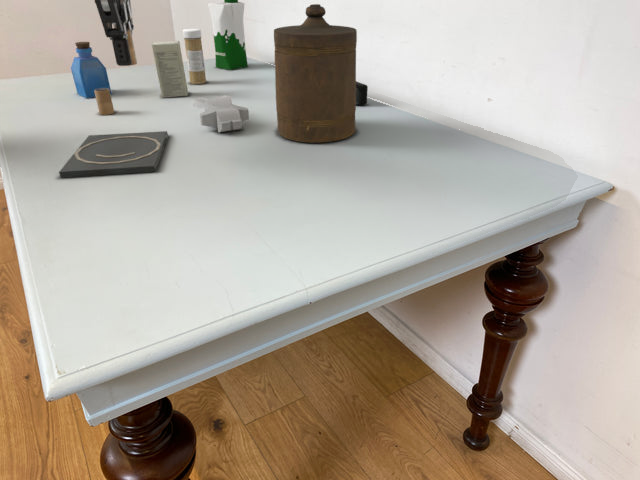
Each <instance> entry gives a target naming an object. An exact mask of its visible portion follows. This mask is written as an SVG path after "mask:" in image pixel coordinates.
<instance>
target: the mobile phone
mask: <svg viewBox="0 0 640 480" xmlns="http://www.w3.org/2000/svg"><path fill="white" fill-rule="evenodd" d="M368 87H369V85H367V84H364V83H362V82H359V81H357V80H356V106H366V105H367V103H368Z"/></svg>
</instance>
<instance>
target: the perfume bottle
mask: <svg viewBox="0 0 640 480" xmlns="http://www.w3.org/2000/svg"><path fill="white" fill-rule="evenodd" d="M74 44H75V46H76V48H75V52H76V54H78V56H75V57H73V60H72V64H71V66H70V70H71V74H72V78H73V82H74V86H75V91H76V93H77V95H78V96H81V97H83V98H85V99H91V98H96V96H95V92H94V90H96V89H98V88H108V89H109V90H110V95H113V93H112V88H111V85H110V80H109V76H108V71H107V68H106V66H105V65H104V64H103V62H102V61H101V60H100V58H98V56H95V55H93V49H92V47H91V45H90V44H91V43H90V41H76V42H74Z"/></svg>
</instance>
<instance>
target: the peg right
mask: <svg viewBox="0 0 640 480" xmlns="http://www.w3.org/2000/svg"><path fill="white" fill-rule="evenodd" d="M126 32H127V35H128V37H127V40H128V45H129V50H130V55H131V60H132V63H131V65H129V66H135V65H137V64H138V60H137V55H136V50H135V44H134V40H133V33H132V34H131V30H129V29H126ZM129 66H128V67H129Z"/></svg>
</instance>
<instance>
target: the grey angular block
mask: <svg viewBox="0 0 640 480" xmlns="http://www.w3.org/2000/svg"><path fill="white" fill-rule="evenodd" d="M193 107H195V108H198V109H203V110H204V111H203V112H201V113H200V114H199V120H200V125H201V126H202V127H212V128H217V133H225V132H232V131H238V130H241V129H243V122H246V121H249V119H250V114H249V113H250V111H249V108H248V107H244V106H240V105H236V104H233V101H232V98H231V96H229V95H225V94H224V95H221V96H217V97H209V98H201V97H200V98H198V97H197V98H195V99H194V102H193Z"/></svg>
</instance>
